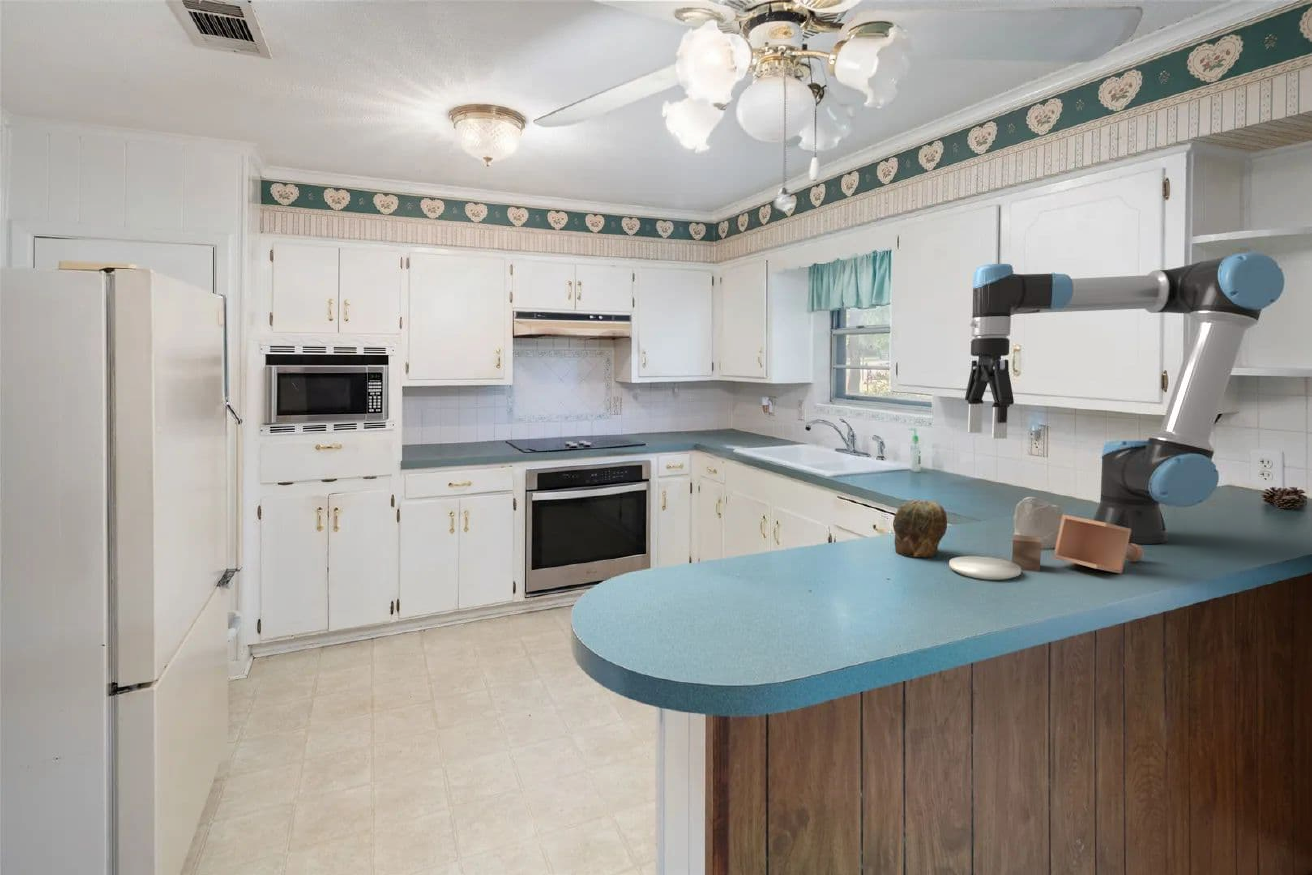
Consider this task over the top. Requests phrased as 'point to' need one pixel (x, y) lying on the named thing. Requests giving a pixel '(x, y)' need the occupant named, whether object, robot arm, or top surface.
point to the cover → (1095, 544)
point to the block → (1027, 552)
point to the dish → (985, 567)
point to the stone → (1038, 520)
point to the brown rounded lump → (919, 528)
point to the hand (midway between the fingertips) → (986, 435)
